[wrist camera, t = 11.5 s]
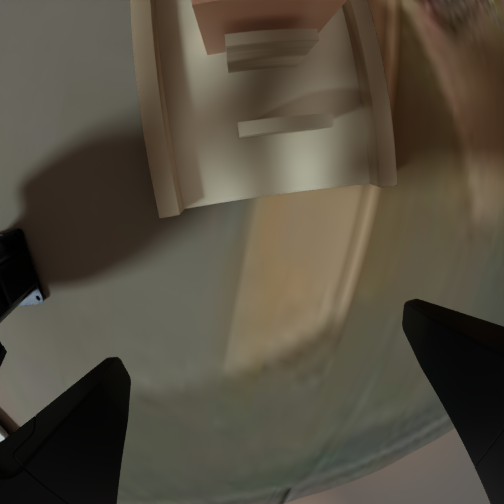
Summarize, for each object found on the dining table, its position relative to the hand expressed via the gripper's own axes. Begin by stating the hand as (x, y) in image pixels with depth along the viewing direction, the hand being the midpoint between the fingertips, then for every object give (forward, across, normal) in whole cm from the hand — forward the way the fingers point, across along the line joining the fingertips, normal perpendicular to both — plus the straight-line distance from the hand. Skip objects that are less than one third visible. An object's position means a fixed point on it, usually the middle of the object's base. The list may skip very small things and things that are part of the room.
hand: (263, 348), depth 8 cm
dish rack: (+12, -3, -12) cm, 17 cm away
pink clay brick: (+11, -3, -12) cm, 16 cm away
